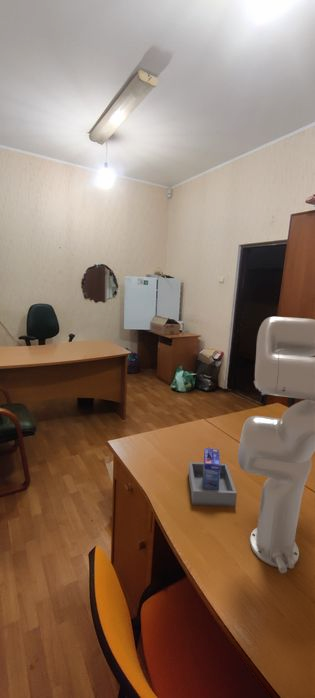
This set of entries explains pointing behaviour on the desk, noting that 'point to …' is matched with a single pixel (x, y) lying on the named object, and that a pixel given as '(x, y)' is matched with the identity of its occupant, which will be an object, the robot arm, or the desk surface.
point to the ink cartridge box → (211, 469)
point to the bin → (211, 497)
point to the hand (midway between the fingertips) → (276, 404)
